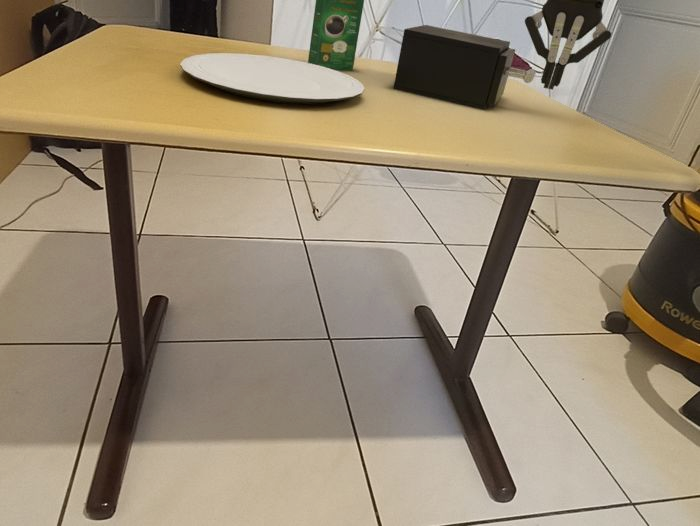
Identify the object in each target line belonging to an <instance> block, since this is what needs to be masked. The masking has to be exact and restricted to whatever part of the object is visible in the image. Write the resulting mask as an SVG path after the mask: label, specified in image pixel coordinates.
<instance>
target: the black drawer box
mask: <svg viewBox="0 0 700 526" xmlns="http://www.w3.org/2000/svg"><path fill="white" fill-rule="evenodd" d="M510 45H511V41H508V40H502V39H497V38H493V37H487V36H483V35H478V34H473V33H467V32H463V31H459V30H458V31H457V30H453V29H448V28H443V27H439V26H433V25H428V24H423V25H419V26H414V27H408V28H404V30H403V35H402V40H401V46H400V51H399V56H398V61H397V66H396V73H395V78H394V82H393V90H396V91H401V92H405V93H410V94H413V95H418V96H422V97H426V98H432V99H435V100H439V101H444V102H449V103H452V104H456V105H460V106H465V107H470V108H473V109H479V110H483V111H484V110H486V109H487V107H488V106H489V105H486V102H487V99H488V95H489V91H490V87H491V84H492V80H493V76H494V72H495V69H496V65H497V61H498V58H499V55H500V54H501V53H503V52H504V51H505V50H507V49H508V48H510Z"/></svg>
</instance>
